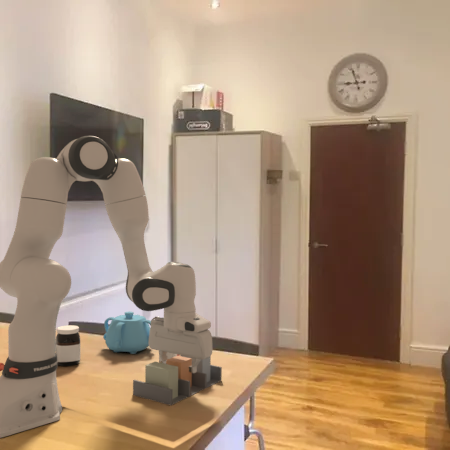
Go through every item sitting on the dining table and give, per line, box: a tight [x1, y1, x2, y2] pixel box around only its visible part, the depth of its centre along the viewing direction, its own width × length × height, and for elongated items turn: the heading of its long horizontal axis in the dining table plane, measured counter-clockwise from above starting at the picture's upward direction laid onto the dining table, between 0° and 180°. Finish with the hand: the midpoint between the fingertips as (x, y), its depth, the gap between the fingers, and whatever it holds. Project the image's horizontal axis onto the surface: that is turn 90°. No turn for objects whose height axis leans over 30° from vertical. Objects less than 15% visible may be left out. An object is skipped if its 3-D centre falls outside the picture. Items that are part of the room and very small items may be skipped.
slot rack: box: [132, 364, 223, 406], centre depth 151 cm, size 23×13×5 cm, turn 147°
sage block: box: [144, 361, 178, 399], centre depth 145 cm, size 4×8×8 cm, turn 57°
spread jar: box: [55, 324, 81, 367], centre depth 176 cm, size 12×11×12 cm
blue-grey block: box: [179, 355, 212, 382], centre depth 157 cm, size 4×8×8 cm, turn 57°
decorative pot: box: [103, 311, 151, 355], centre depth 192 cm, size 16×16×14 cm
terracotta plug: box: [167, 355, 192, 387], centre depth 151 cm, size 5×5×8 cm
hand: (179, 369), depth 151 cm, fingers open, 8 cm apart
